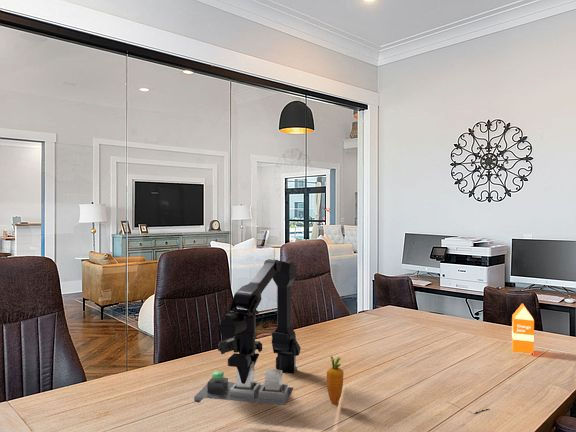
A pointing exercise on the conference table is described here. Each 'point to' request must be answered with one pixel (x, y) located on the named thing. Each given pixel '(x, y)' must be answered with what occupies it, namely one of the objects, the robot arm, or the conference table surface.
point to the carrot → (335, 381)
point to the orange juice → (522, 331)
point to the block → (273, 380)
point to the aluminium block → (249, 380)
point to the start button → (217, 375)
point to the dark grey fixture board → (243, 392)
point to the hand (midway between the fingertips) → (245, 380)
